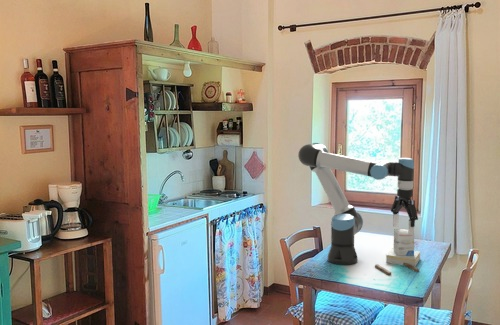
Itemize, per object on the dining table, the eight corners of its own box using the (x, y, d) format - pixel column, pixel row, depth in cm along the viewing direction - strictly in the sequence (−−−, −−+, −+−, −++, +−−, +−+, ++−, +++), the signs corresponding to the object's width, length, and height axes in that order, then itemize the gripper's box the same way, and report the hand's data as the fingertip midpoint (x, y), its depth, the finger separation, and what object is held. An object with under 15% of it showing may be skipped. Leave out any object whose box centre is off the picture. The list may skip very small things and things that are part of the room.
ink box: (409, 250, 241) (410, 228, 240) (414, 255, 233) (414, 232, 231) (393, 250, 242) (393, 228, 240) (396, 255, 233) (397, 232, 232)
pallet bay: (375, 267, 228) (375, 264, 228) (404, 264, 232) (404, 261, 232) (388, 275, 216) (388, 272, 216) (418, 271, 221) (419, 269, 220)
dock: (386, 262, 235) (386, 254, 234) (392, 255, 247) (392, 247, 246) (415, 266, 228) (415, 258, 227) (420, 259, 240) (420, 251, 239)
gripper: (385, 185, 244) (383, 224, 247) (413, 193, 221) (411, 236, 223) (397, 184, 246) (396, 223, 249) (426, 192, 222) (424, 235, 225)
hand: (403, 229), depth 236 cm, fingers open, 13 cm apart
